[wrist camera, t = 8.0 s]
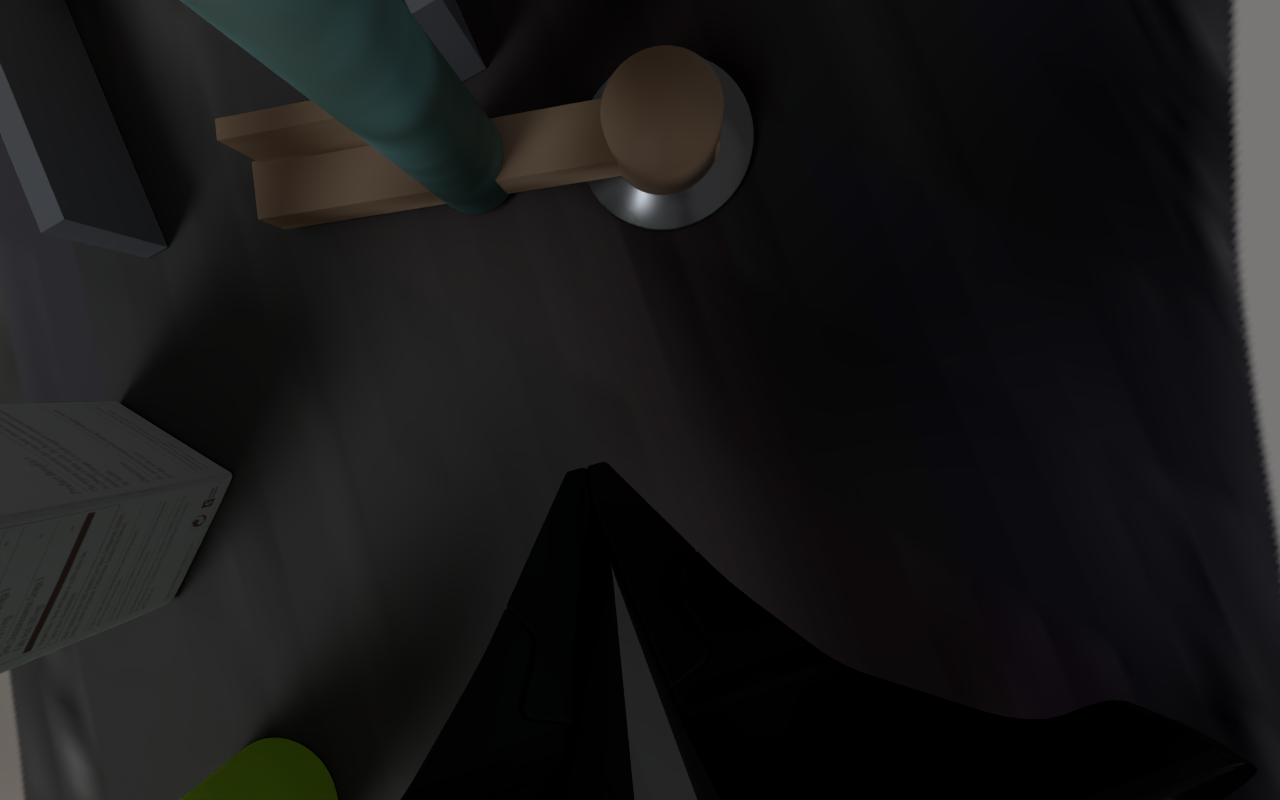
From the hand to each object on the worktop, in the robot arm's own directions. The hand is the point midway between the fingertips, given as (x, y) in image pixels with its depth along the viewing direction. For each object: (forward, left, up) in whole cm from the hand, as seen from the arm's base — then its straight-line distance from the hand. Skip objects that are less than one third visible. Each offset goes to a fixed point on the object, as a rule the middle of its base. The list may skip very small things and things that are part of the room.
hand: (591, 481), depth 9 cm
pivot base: (+12, +2, -9) cm, 15 cm away
